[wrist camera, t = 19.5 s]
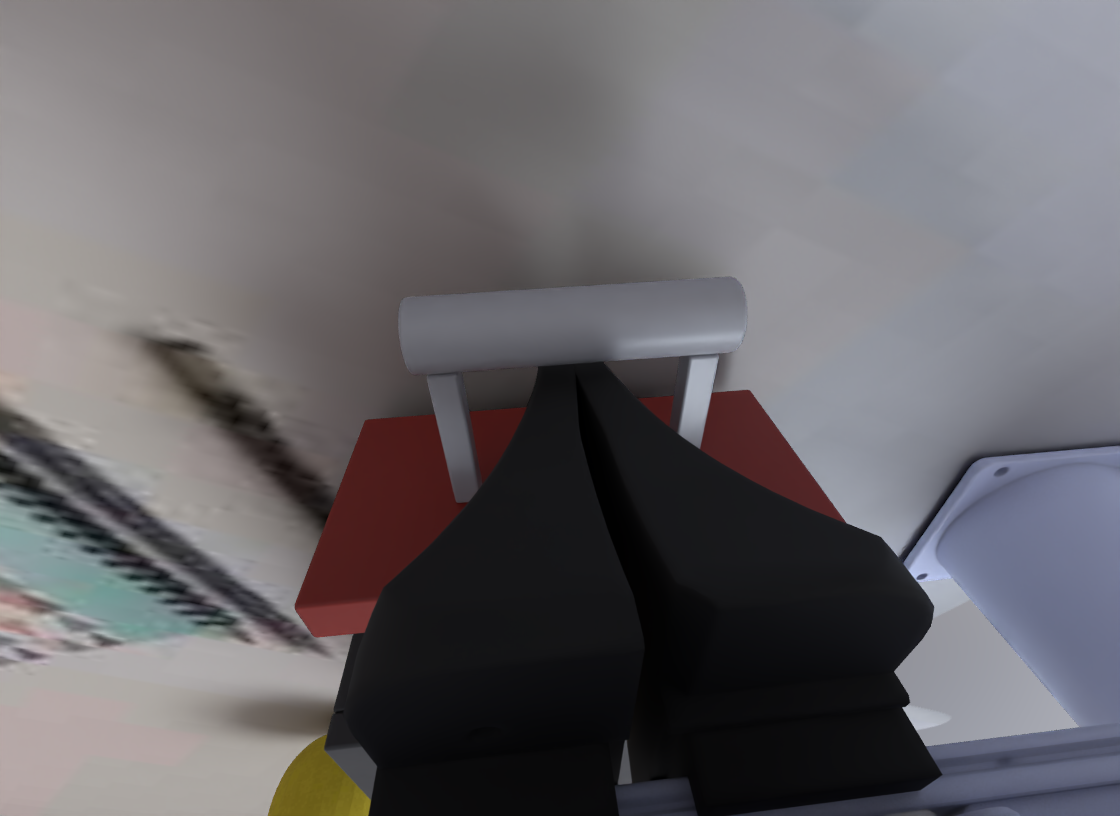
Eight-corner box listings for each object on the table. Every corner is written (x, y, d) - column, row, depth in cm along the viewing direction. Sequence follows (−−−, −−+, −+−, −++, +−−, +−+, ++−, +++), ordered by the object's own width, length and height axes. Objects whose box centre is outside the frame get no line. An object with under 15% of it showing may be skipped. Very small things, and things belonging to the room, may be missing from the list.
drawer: (303, 247, 11) (146, 398, 6) (794, 219, 11) (998, 335, 7) (446, 647, 22) (430, 808, 17) (688, 621, 22) (736, 769, 18)
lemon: (276, 725, 27) (206, 933, 21) (338, 692, 25) (282, 908, 19) (357, 747, 30) (317, 935, 23) (417, 718, 28) (392, 913, 22)
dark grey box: (387, 500, 17) (321, 750, 11) (730, 469, 18) (848, 688, 12) (453, 681, 26) (438, 874, 20) (680, 655, 26) (732, 835, 20)
